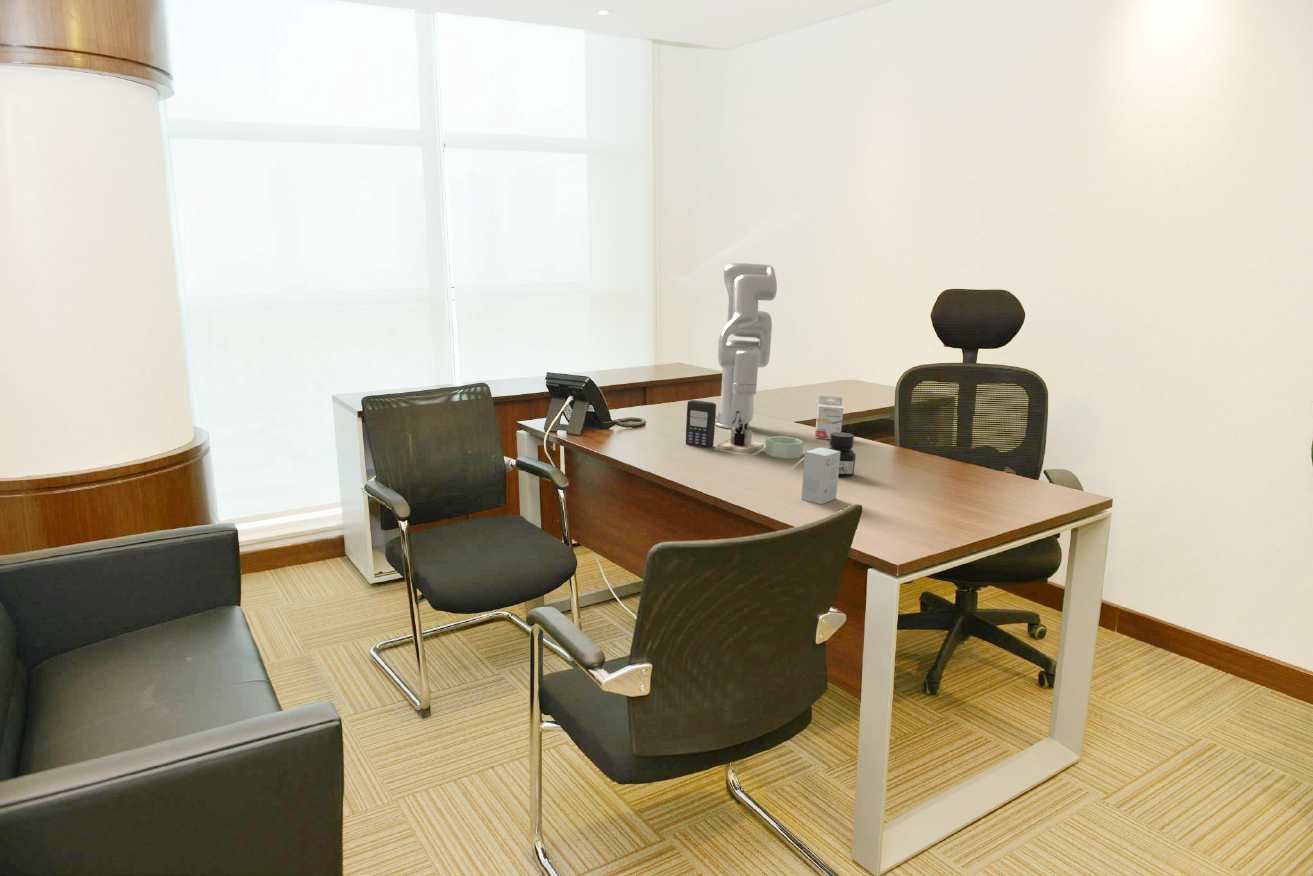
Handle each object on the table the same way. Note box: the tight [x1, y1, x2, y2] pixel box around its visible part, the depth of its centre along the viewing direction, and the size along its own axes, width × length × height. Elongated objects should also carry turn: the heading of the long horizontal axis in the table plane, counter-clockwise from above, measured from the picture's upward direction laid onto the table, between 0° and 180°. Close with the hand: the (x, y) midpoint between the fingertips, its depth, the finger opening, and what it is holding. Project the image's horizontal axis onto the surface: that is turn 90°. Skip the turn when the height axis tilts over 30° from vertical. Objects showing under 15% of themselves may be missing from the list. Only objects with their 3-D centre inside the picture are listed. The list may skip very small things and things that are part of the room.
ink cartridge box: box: [814, 395, 844, 439], centre depth 303 cm, size 9×5×15 cm, turn 84°
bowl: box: [764, 435, 804, 459], centre depth 274 cm, size 11×11×5 cm
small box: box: [801, 447, 840, 505], centre depth 225 cm, size 8×6×13 cm
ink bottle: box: [828, 431, 857, 478], centre depth 252 cm, size 10×9×12 cm
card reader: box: [685, 399, 717, 449], centre depth 279 cm, size 9×4×15 cm, turn 62°
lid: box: [716, 428, 765, 454], centre depth 279 cm, size 12×12×6 cm
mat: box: [712, 445, 766, 456], centre depth 280 cm, size 14×14×1 cm
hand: (740, 443), depth 279 cm, fingers closed on lid, 3 cm apart
